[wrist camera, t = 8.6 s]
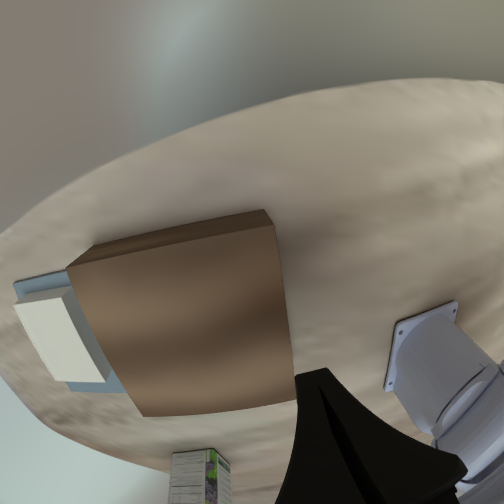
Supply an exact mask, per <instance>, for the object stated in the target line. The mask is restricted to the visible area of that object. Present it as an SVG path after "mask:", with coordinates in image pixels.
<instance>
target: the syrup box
mask: <svg viewBox="0 0 504 504" xmlns="http://www.w3.org/2000/svg"><path fill="white" fill-rule="evenodd" d="M168 504H232V489H231V471H230V465H229V464H228V463H227V462H226V461H225V460H224V459H223V458H222V457H221V456H220V455H219V454H218V453H217V452H216V451H215V450H214V449H207V450H200V451H192V452H184V453H174V454H173V455H172V464H171V473H170V483H169V494H168Z"/></svg>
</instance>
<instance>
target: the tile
mask: <svg viewBox="0 0 504 504" xmlns="http://www.w3.org/2000/svg"><path fill="white" fill-rule="evenodd" d="M14 308H15V310H16V312H17V314H18V316H19V318H20V320H21V322H22V324H23V326H24V328H25V330H26V332H27V334H28V336H29V338H30V339H31V341H32V343H33V345H34V346H35V348H36V350H37V352H38V353H39V355H40V357H41V358H42V360H43V362H44V363H45V365H46V366H47V368H48V370H49V371H50V373H51V374H52V376H53V377H54V379H55V380H56V381H68V382H106V381H107V379H108V376H109V374H110V372H111V369H112V367H111V365H110V364H109V362H108V360H107V358H106V357H105V355H104V353H103V351H102V349H101V347H100V345H99V344H98V342H97V340H96V338H95V336H94V334H93V332H92V330H91V328H90V326H89V323H88V321H87V319H86V317H85V315H84V313H83V311H82V308H81V306H80V304H79V301H78V299H77V297H76V294H75V292H74V290H73V287H72V285H71V286H66V287H60V288H55V289H50V290H44V291H39V292H33V293H28V294H25V295H24V296H23V297H22V298H20V299H19V300H18V301H17V302H16V303H15V304H14Z"/></svg>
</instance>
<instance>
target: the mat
mask: <svg viewBox="0 0 504 504" xmlns="http://www.w3.org/2000/svg"><path fill="white" fill-rule="evenodd" d="M13 286H14V289H15V291H16V293H17V296H18V298H19V299H20V298H22V297H23V296H24V295H25V294H28V293H33V292H39V291H44V290H50V289H55V288H60V287H66V286H71V282H70V279H69V277H68V274H67V271H66V270H63V271H59V272H55V273H50V274H46V275H42V276H38V277H34V278H29V279H25V280H21V281H17V282H14V283H13ZM65 383H66V384H67V385H68V387H69V388H70V390H71V391H75V392H99V393H127V392H126V390H125V389H124V387H123V385H122V384H121V382H120V381H119V379H118V377H117V376H116V374H115V372H114V371H113V369H111V372H110V374H109V376H108V379H107V381H106V382H68V381H65Z"/></svg>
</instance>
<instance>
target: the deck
mask: <svg viewBox="0 0 504 504" xmlns="http://www.w3.org/2000/svg"><path fill="white" fill-rule="evenodd" d="M65 269H66V271H67V274H68V277H69V279H70V282H71V285H72V287H73V290H74V292H75V294H76V297H77V299H78V301H79V304H80V306H81V308H82V311H83V313H84V315H85V317H86V319H87V321H88V323H89V326H90V328H91V330H92V332H93V334H94V336H95V338H96V340H97V342H98V344H99V345H100V347H101V349H102V351H103V353H104V355H105V357H106V358H107V360H108V362H109V364H110V365H111V367H112V369H113V371H114V372H115V374H116V376H117V377H118V379H119V381H120V382H121V384H122V385H123V387H124V389H125V390H126V392H127V393H128V395H129V396H130V398H131V399H132V401H133V402H134V404H135V405H136V407H137V408H138V410H139V411H140V413H141V414H142V415H143V417H162V416H184V415H198V414H209V413H219V412H227V411H235V410H242V409H248V408H255V407H260V406H266V405H271V404H277V403H282V402H286V401H291V400H296V399H297V398H296V388H295V379H294V368H293V359H292V351H291V342H290V334H289V326H288V318H287V310H286V303H285V295H284V288H283V280H282V273H281V266H280V259H279V252H278V245H277V238H276V232H275V225H274V223H273V222H272V220H271V219H270V217H269V216H268V215H267V213H266V212H265V210H264V209H263V210H258V211H252V212H247V213H241V214H236V215H231V216H226V217H221V218H215V219H210V220H205V221H201V222H196V223H191V224H186V225H181V226H177V227H172V228H167V229H163V230H158V231H154V232H149V233H145V234H141V235H136V236H132V237H128V238H124V239H119V240H115V241H111V242H107V243H103V244H99V245H95V246H92V247H91V248H90V249H88V250H87V251H86V252H84V253H83V254H82V255H81V256H79V257H78V258H77V259H76V260H74V261H73V262H72V263H71V264H69V265H68V266H67V267H66V268H65Z"/></svg>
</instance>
